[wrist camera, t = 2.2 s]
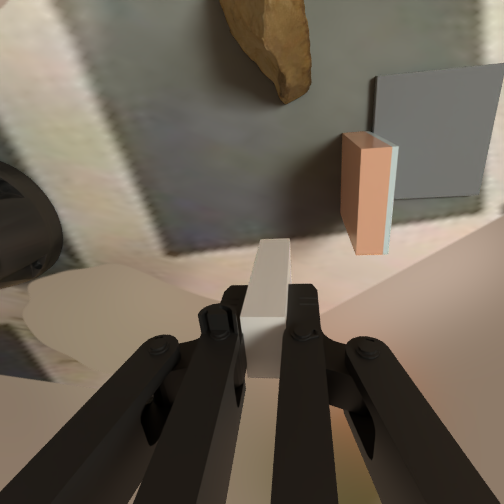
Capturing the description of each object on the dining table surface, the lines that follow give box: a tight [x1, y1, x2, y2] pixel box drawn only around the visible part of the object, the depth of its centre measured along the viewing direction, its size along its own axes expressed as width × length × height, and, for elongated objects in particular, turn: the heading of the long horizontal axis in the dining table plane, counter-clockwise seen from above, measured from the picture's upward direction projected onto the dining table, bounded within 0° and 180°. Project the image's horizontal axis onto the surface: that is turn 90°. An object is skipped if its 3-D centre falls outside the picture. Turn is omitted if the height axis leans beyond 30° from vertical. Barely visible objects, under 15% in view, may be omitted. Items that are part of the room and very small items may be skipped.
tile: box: [340, 131, 399, 255], centre depth 28 cm, size 2×8×10 cm, turn 5°
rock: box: [219, 0, 312, 104], centre depth 26 cm, size 11×9×10 cm
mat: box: [372, 63, 504, 199], centre depth 30 cm, size 10×11×1 cm
